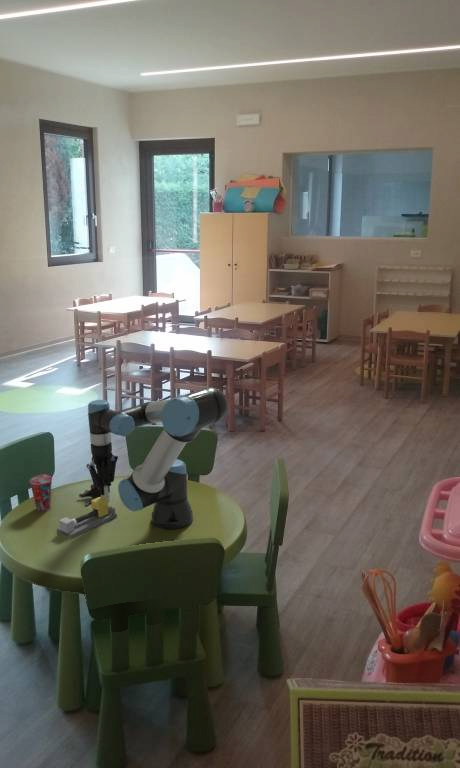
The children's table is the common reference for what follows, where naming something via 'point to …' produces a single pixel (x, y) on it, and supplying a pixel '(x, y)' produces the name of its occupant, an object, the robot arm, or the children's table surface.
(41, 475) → the cup
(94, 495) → the stuffed animal
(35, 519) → the children's table surface
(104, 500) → the sleeve
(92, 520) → the comb rail
